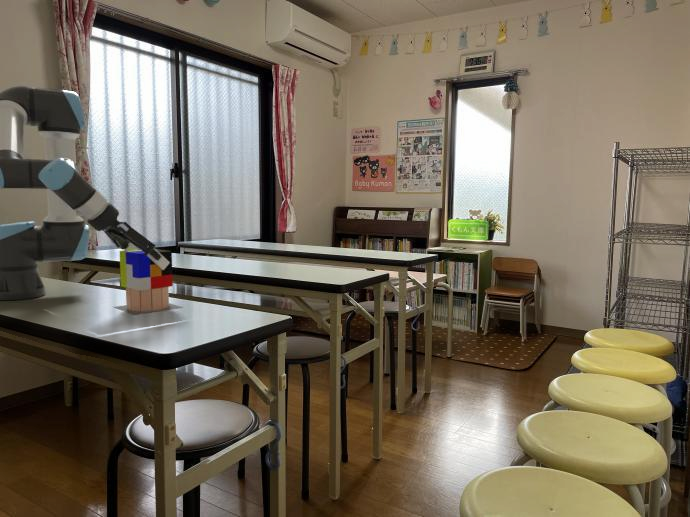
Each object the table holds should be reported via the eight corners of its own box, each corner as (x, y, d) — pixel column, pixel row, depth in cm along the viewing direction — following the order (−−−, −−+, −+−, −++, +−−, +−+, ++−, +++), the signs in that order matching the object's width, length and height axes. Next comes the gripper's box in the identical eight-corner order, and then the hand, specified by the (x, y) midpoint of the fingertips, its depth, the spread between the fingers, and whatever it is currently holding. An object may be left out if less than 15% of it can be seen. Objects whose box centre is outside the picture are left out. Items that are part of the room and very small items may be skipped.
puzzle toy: (139, 290, 136) (138, 253, 134) (120, 286, 142) (119, 251, 141) (172, 286, 143) (171, 251, 142) (153, 282, 150) (152, 248, 148)
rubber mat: (113, 308, 143) (113, 306, 143) (160, 302, 153) (160, 300, 153) (134, 316, 133) (134, 315, 133) (183, 309, 143) (183, 307, 143)
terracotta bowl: (120, 307, 143) (119, 286, 142) (157, 301, 151) (157, 281, 150) (137, 313, 135) (136, 291, 135) (175, 307, 143) (175, 286, 143)
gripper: (70, 220, 138) (127, 269, 150) (106, 223, 121) (167, 279, 133) (89, 200, 141) (143, 250, 154) (127, 201, 124) (185, 257, 137)
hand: (154, 264), depth 144 cm, fingers open, 13 cm apart
